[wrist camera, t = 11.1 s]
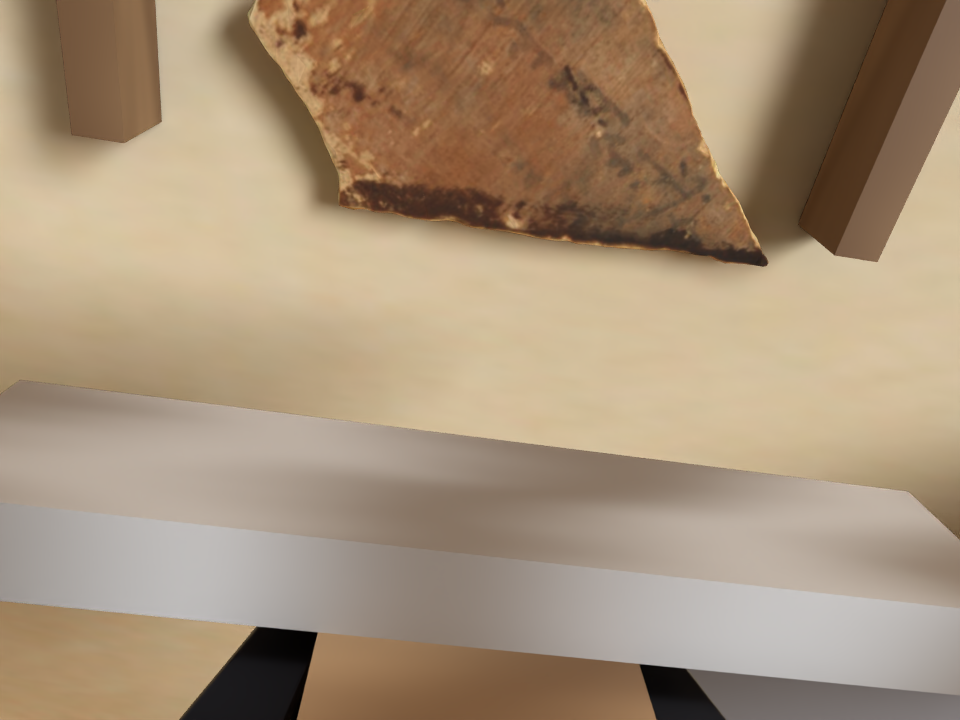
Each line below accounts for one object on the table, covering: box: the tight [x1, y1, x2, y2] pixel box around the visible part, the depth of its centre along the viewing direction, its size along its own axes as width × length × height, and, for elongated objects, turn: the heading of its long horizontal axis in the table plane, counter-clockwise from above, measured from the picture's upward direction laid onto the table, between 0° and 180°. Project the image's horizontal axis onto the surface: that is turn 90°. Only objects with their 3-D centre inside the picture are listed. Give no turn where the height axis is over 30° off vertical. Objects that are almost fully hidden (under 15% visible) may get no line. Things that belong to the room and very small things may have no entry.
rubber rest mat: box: [687, 669, 960, 720], centre depth 27 cm, size 14×11×1 cm
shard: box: [247, 0, 769, 267], centre depth 16 cm, size 11×8×2 cm
